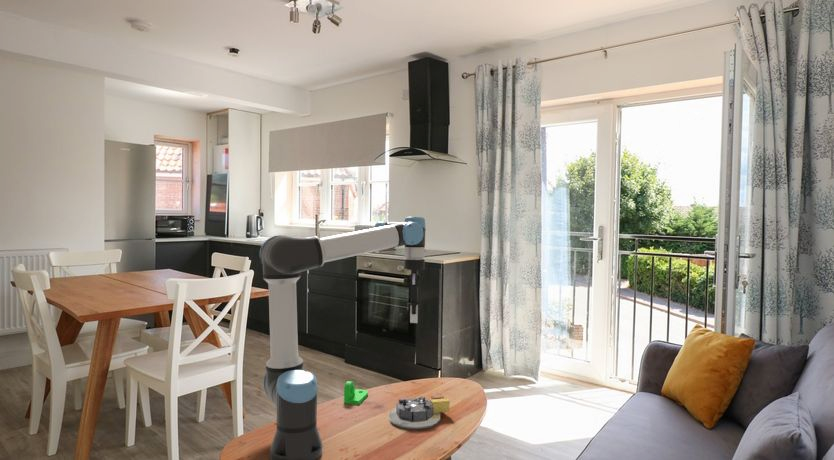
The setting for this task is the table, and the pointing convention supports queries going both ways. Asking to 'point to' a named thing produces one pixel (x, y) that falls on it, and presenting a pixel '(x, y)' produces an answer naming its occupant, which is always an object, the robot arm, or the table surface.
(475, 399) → the table surface
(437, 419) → the housing
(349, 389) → the mechanical part
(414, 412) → the grey ring yellow handle
